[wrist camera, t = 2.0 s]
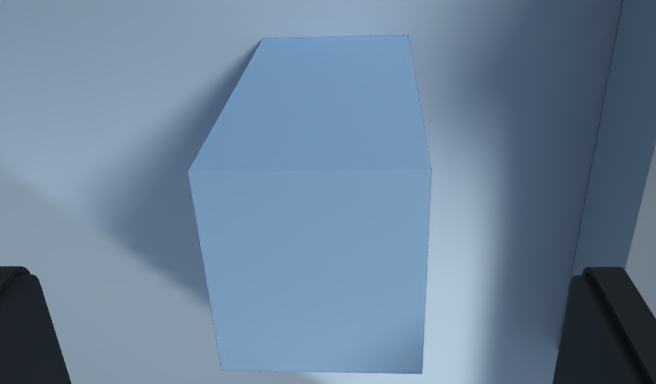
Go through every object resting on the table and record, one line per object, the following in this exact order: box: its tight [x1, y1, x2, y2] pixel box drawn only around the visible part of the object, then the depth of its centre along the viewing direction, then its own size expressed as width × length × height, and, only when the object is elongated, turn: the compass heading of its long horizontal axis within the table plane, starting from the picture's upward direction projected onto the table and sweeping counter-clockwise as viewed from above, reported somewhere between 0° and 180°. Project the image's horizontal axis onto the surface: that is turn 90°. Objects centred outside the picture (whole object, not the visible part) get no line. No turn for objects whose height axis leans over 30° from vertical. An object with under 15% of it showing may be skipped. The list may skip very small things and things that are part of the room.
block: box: [188, 35, 432, 374], centre depth 15 cm, size 4×4×8 cm
